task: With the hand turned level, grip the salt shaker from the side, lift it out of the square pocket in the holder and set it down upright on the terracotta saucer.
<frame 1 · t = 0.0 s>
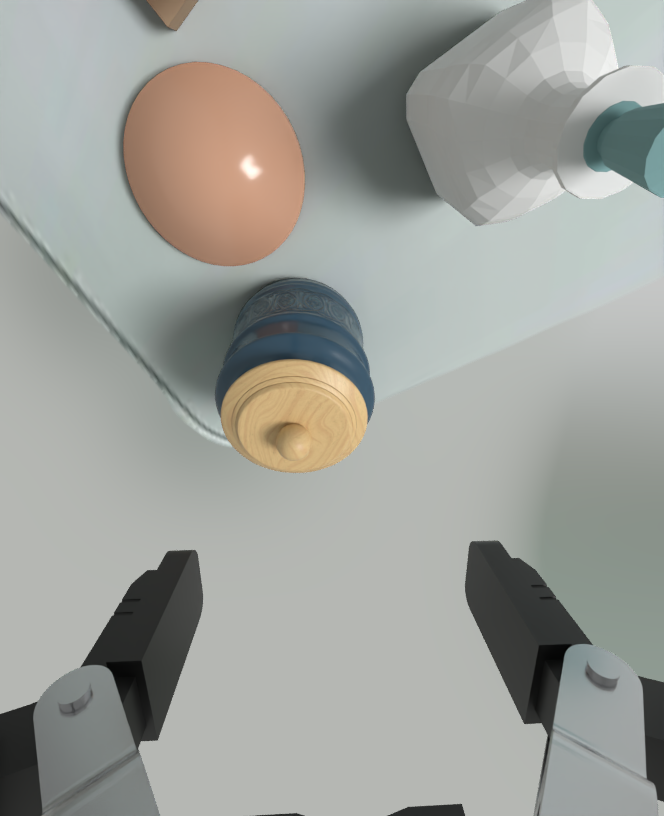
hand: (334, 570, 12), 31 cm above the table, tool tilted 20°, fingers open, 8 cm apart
soap bottle: (473, 116, 31), on the table
saucer: (219, 175, 33), on the table
canister: (299, 334, 42), on the table
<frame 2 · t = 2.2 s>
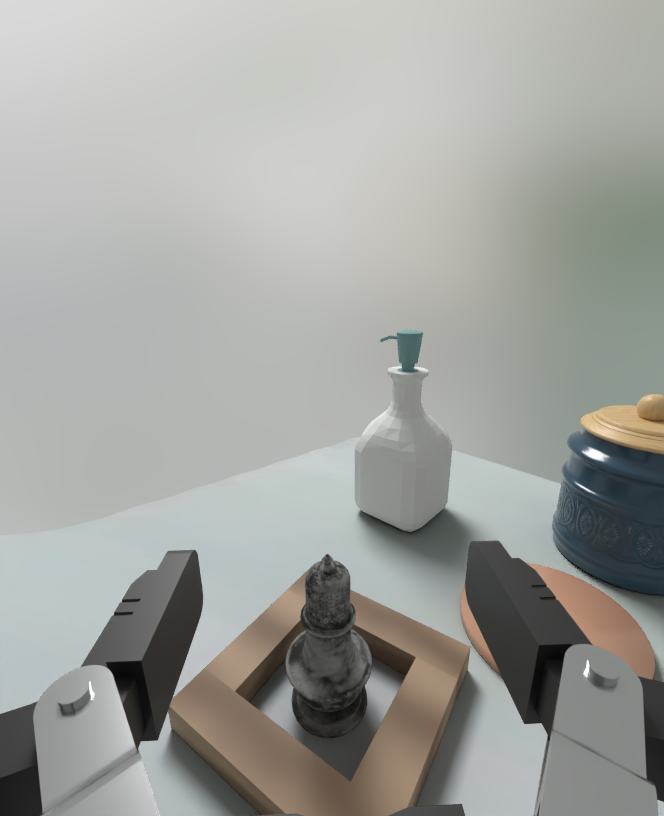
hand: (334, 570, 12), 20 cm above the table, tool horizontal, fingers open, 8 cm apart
pocket holder: (329, 696, 28), on the table
soap bottle: (400, 511, 51), on the table
salt shaker: (329, 699, 28), resting in pocket holder
saucer: (547, 628, 34), on the table
canister: (617, 554, 43), on the table
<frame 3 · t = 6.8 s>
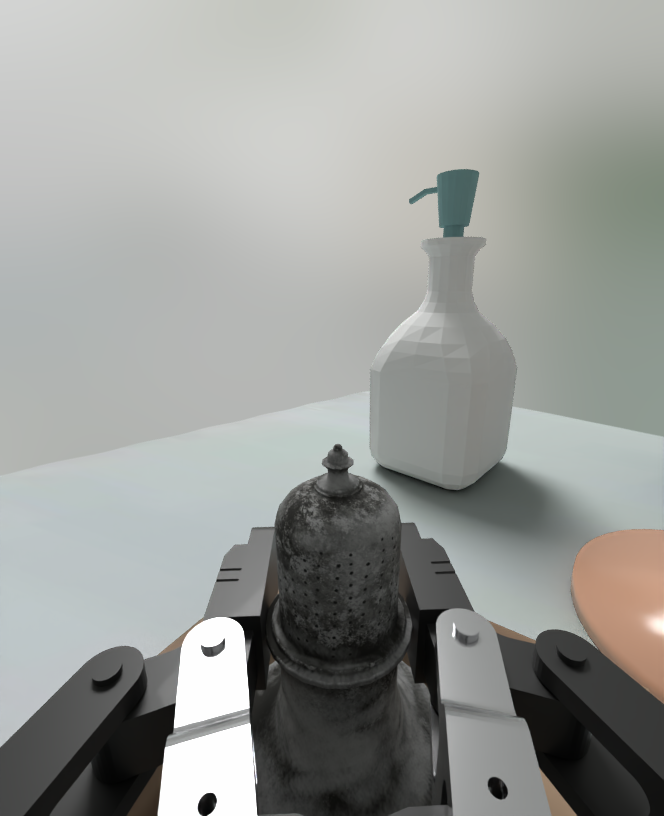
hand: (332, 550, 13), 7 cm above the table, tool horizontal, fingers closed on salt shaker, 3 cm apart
pocket holder: (340, 811, 12), on the table
soap bottle: (436, 466, 35), on the table
salt shaker: (339, 815, 12), resting in pocket holder, touching gripper
when the fingers open (9 cm above the table, at t = 12.3 s): salt shaker stays where it is, resting on saucer.
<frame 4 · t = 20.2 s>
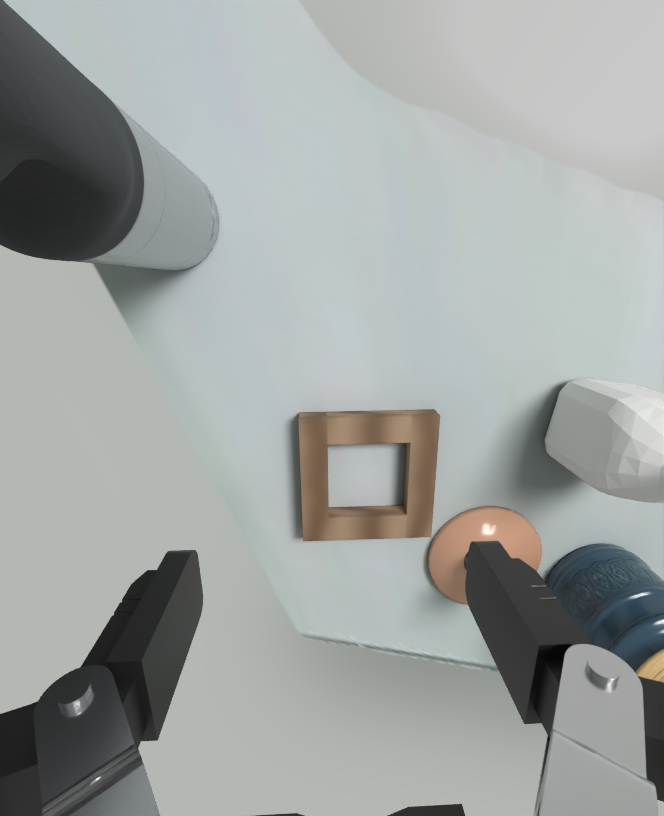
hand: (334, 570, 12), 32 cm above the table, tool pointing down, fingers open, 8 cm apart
pocket holder: (366, 472, 46), on the table
soap bottle: (584, 417, 46), on the table
saucer: (482, 554, 50), on the table
canister: (590, 581, 53), on the table
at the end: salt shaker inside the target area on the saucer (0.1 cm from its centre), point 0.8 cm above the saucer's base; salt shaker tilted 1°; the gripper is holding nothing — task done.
